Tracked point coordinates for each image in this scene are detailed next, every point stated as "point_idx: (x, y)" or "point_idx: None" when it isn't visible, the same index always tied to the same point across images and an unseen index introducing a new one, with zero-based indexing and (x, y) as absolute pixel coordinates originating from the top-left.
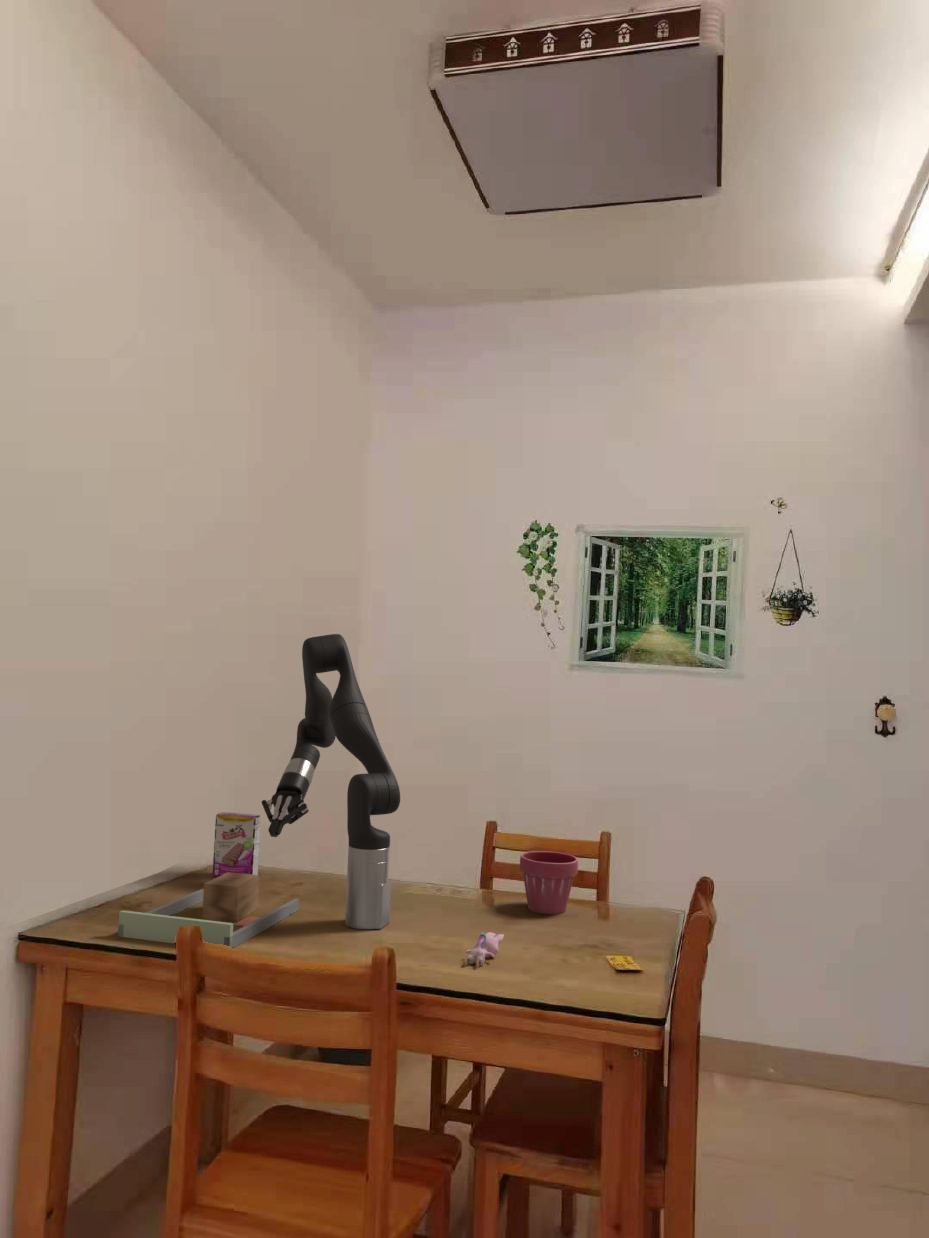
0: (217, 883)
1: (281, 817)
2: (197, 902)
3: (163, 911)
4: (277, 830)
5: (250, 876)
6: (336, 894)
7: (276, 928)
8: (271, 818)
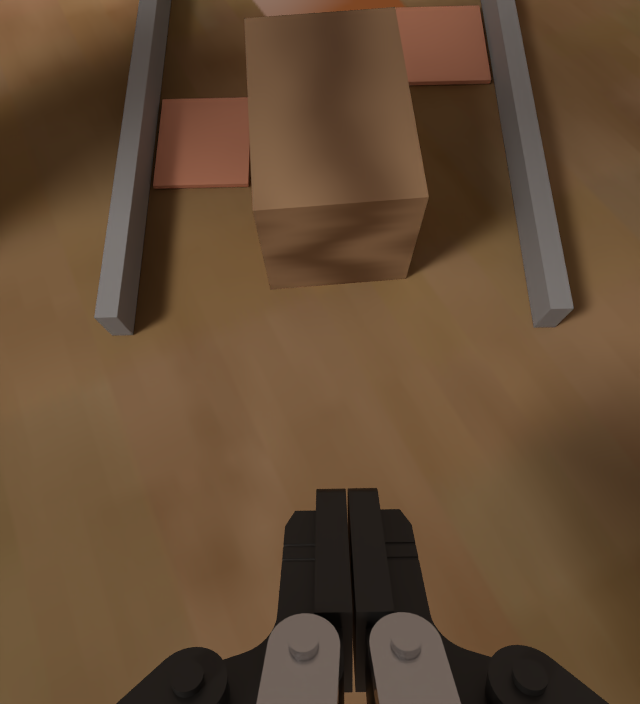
0: (346, 25)
1: (292, 643)
2: (525, 264)
3: (500, 58)
4: (299, 522)
5: (280, 171)
6: (18, 686)
7: (113, 122)
8: (462, 657)
